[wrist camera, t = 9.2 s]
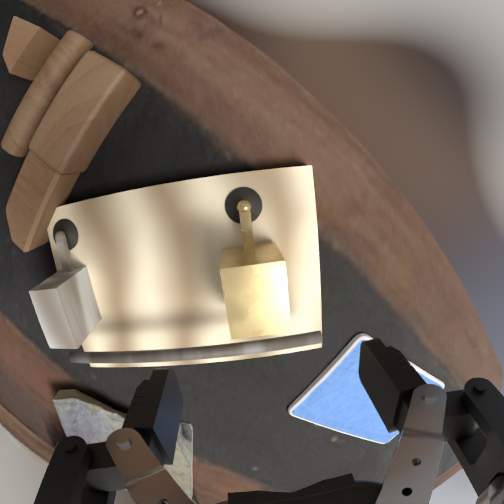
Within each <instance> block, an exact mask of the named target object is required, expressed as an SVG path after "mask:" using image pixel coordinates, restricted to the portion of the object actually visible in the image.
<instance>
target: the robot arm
mask: <svg viewBox="0 0 504 504" xmlns="http://www.w3.org/2000/svg"><path fill="white" fill-rule="evenodd" d="M358 372H359V378H360V381H361V384H362V385H363V387H364V389H365V391H366V392H367V394H368V396H369V398H370V400H371V401H372V403H373V405H374V407H375V409H376V410H377V412H378V414H379V416H380V418H381V420H382V421H383V423H384V425H385V427H386V429H387V431H388V433H391V432H394V431H397V430H398V431H399V433H400V437H399V440H398V443H397V446H396V449H395V451H394V454H393V457H392V460H391V463H390V465H389V468H388V470H387V473H386V475H385V478H384V480H383V483H379V482H374V481H368V480H354V478H353V475H352V473H351V474H347V475H343V476H339V477H335V478H331V479H327V480H322V481H320V482H318V483H315V484H313V485H311V486H308V487H306V488H303V489H301V490H298V491H296V492H292V493H285V492H269V491H249V492H235V493H228V500H227V501H223V502H220V503H218V504H429V501H430V497H431V494H432V490H433V487H434V483H435V479H436V475H437V471H438V467H439V462H440V458H441V453H442V448H443V442H445V441H448V443H449V445H450V446H451V448H452V450H453V452H454V453H455V455H456V457H457V459H458V460H459V462H460V464H461V466H462V467H463V469H464V471H465V473H466V475H467V476H468V478H469V480H470V482H471V484H472V486H473V488H474V489H475V491H476V493H477V495H478V499H477V501H476V504H504V397H503V395H502V394H501V393H500V392H499V391H498V390H497V388H496V387H495V386H494V385H493V384H492V383H491V382H490V381H489V380H487V379H484V378H472V379H470V380H468V381H467V382H466V384H465V386H464V389H463V390H458V391H451V392H445V390H444V389H443V388H441V387H440V386H438V385H435V384H427V383H426V382H425V381H424V379H423V378H422V377H421V376H420V375H419V373H418V372H417V371H416V370H415V368H414V367H413V366H412V365H410V362H409V361H408V360H407V359H406V358H405V356H404V355H403V354H402V353H401V352H400V351H399V350H397V349H395V348H393V347H392V346H389V347H386V346H385V345H384V344H383V342H382V341H381V340H380V339H379V338H375V339H371V340H367V341H362V342H361V345H360V357H359V369H358ZM182 408H183V400H182V394H181V391H180V389H179V386H178V383H177V380H176V377H175V374H174V371H173V369H172V368H155V369H154V370H153V373H152V375H151V378H150V380H144V381H143V382H142V383H141V384H140V385H139V386H138V387H137V389H136V391H135V394H134V398H133V399H132V402H131V405H130V407H129V409H128V412H127V415H126V417H125V420H124V423H123V426H122V428H121V429H118V430H116V431H114V432H112V433H111V434H110V435H109V436H108V438H107V440H106V441H105V442H99V443H92V444H87V443H86V442H85V440H84V439H83V438H81V437H79V436H68V437H65V438H63V439H62V440H61V441H60V442H59V443H58V444H57V446H56V448H55V451H54V453H53V455H52V458H51V460H50V463H49V465H48V468H47V470H46V473H45V475H44V478H43V480H42V483H41V486H40V488H39V491H38V493H37V496H36V499H35V502H34V504H114V500H115V495H116V490H123V489H127V490H128V492H129V494H130V495H131V497H132V499H133V500H134V502H135V503H136V504H194V503H193V502H192V500H191V499H190V498H189V497H188V496H187V494H186V493H185V492H184V491H183V490H182V489H181V487H180V486H179V485H178V484H177V483H176V481H175V480H174V479H173V478H172V476H171V475H170V474H169V472H168V471H167V470H166V469H165V468H164V467H163V466H164V465H173V461H174V455H175V449H176V442H177V437H178V431H179V425H180V419H181V414H182ZM478 426H479V427H480V428H479V427H478ZM480 429H481V430H482V431H481V430H480ZM482 432H483V433H484V434H485V435H484V434H483V433H482ZM485 436H486V437H485Z"/></svg>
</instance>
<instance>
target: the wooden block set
mask: <svg viewBox="0 0 504 504" xmlns="http://www.w3.org/2000/svg"><path fill="white" fill-rule="evenodd" d="M93 45H94V44H93V43H92V42H91V41H90V40H89V39H87V38H86V37H84V36H83V35H81V34H79V33H77V32H75V31H73V30H69V31H67V32H66V34H65V35H64V36H63V38H62V39H61V40H59V39H58V38H56V37H54V36H53V35H51V34H50V33H48V32H47V31H45V30H44V29H42V28H41V27H39V26H36V25H34V24H32V23H30V22H27V21H25V20H23V19H20V18H18V17H16V16H14V17H13V20H12V23H11V26H10V30H9V33H8V36H7V40H6V43H5V47H4V51H3V57H4V60H5V62H6V65H7V68H8V70H9V73H11V74H14V75H17V76H19V77H22V78H25V79H28V80H31V81H33V82H32V83H31V85H30V87H29V89H28V90H27V92H26V94H25V95H24V97H23V99H22V101H21V103H20V105H19V106H18V108H17V110H16V112H15V114H14V116H13V118H12V120H11V122H10V124H9V126H8V128H7V131H6V133H5V135H4V137H3V139H2V142H1V147H2V148H3V149H4V150H5V151H6V152H8V153H9V154H11V155H14V156H17V157H25V156H26V155H27V156H26V158H25V160H24V163H23V165H22V167H21V170H20V172H19V174H18V177H17V179H16V182H15V184H14V187H13V189H12V192H11V194H10V197H9V200H8V203H7V206H6V214H7V219H8V224H9V229H10V234H11V238H12V241H13V242H14V243H15V244H16V245H17V246H18V247H19V248H20V249H21V250H22V251H23V252H24V253H25V252H29V251H31V250H33V249H35V248H37V247H39V246H41V245H43V244H45V243H47V242H48V240H49V236H48V231H47V228H48V226H49V224H50V221H51V219H52V217H53V215H54V212H55V210H56V208H57V207H60V206H63V205H64V204H65V202H66V200H67V198H68V196H69V194H70V192H71V190H72V188H73V186H74V184H75V182H76V180H77V179H78V177H79V175H80V172H84V171H85V170H86V169H87V167H88V166H89V164H90V162H91V160H92V159H93V157H94V155H95V154H96V152H97V150H98V149H99V147H100V145H101V144H102V142H103V140H104V139H105V137H106V136H107V134H108V133H109V131H110V129H111V128H112V126H113V125H114V123H115V122H116V120H117V119H118V117H119V116H120V114H121V113H122V112H123V110H124V109H125V107H126V106H127V105H128V103H129V102H130V100H131V99H132V98H133V96H134V95H135V94H136V92H137V91H138V90H139V88H140V86H141V83H140V82H139V81H138V80H137V79H136V78H135V77H134V76H133V75H132V74H131V73H130V72H128V71H127V70H126V69H125V68H124V67H122V66H120V65H118V64H116V63H115V62H113V61H111V60H109V59H107V58H106V57H104V56H102V55H100V54H98V53H96V52H95V51H90V50H91V49H92V48H93ZM29 149H30V150H29Z"/></svg>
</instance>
